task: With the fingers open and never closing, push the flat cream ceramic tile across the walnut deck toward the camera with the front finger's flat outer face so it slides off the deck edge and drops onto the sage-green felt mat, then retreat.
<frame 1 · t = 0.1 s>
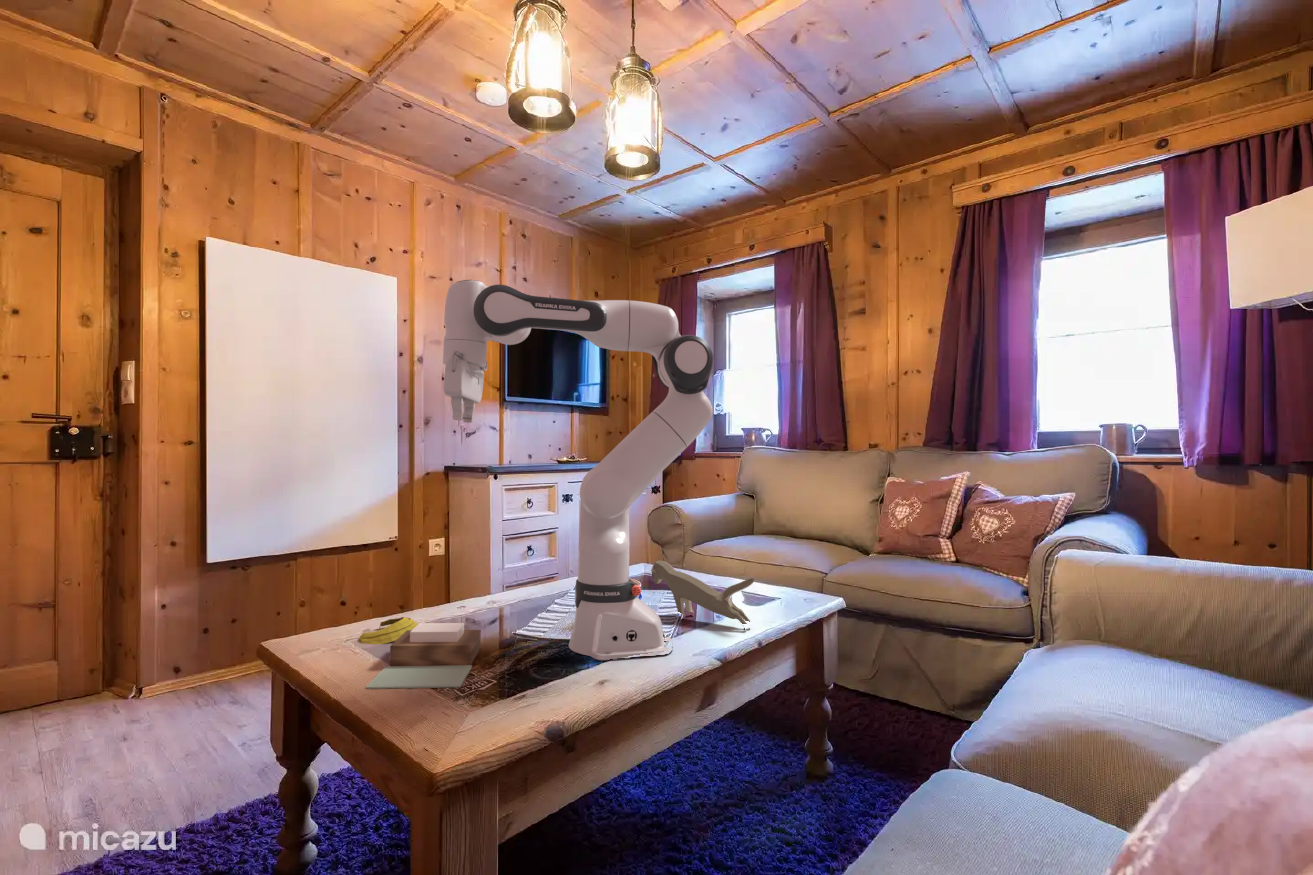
hand: (463, 421, 126), 48 cm above the table, fingers open, 8 cm apart
deck: (437, 657, 119), on the table
mat: (421, 677, 108), on the table
sculpture: (700, 621, 150), on the table
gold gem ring: (394, 638, 132), on the table
tile: (437, 637, 119), point 4 cm above the table, touching deck
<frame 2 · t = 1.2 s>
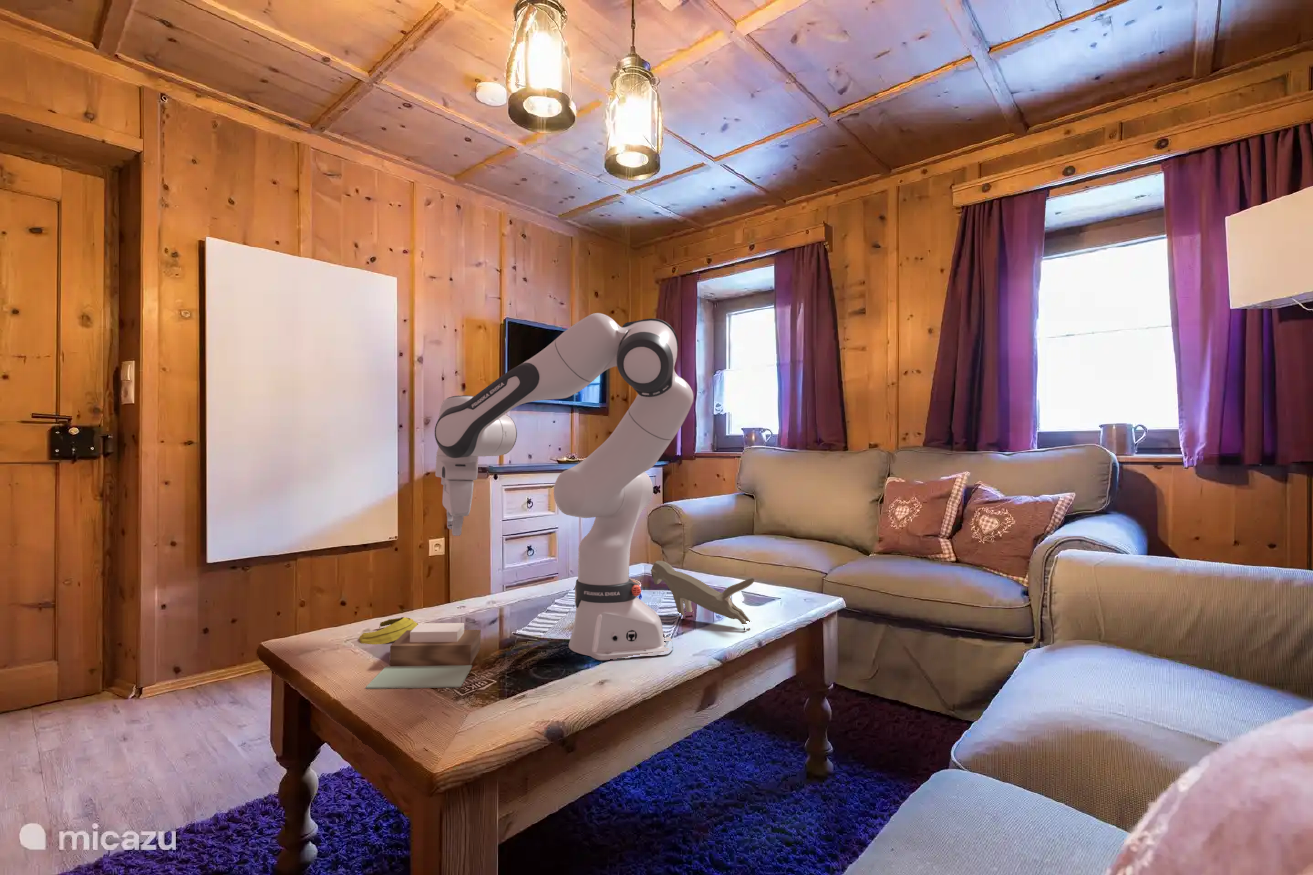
hand: (453, 532, 130), 24 cm above the table, fingers open, 8 cm apart
nothing on the table moved.
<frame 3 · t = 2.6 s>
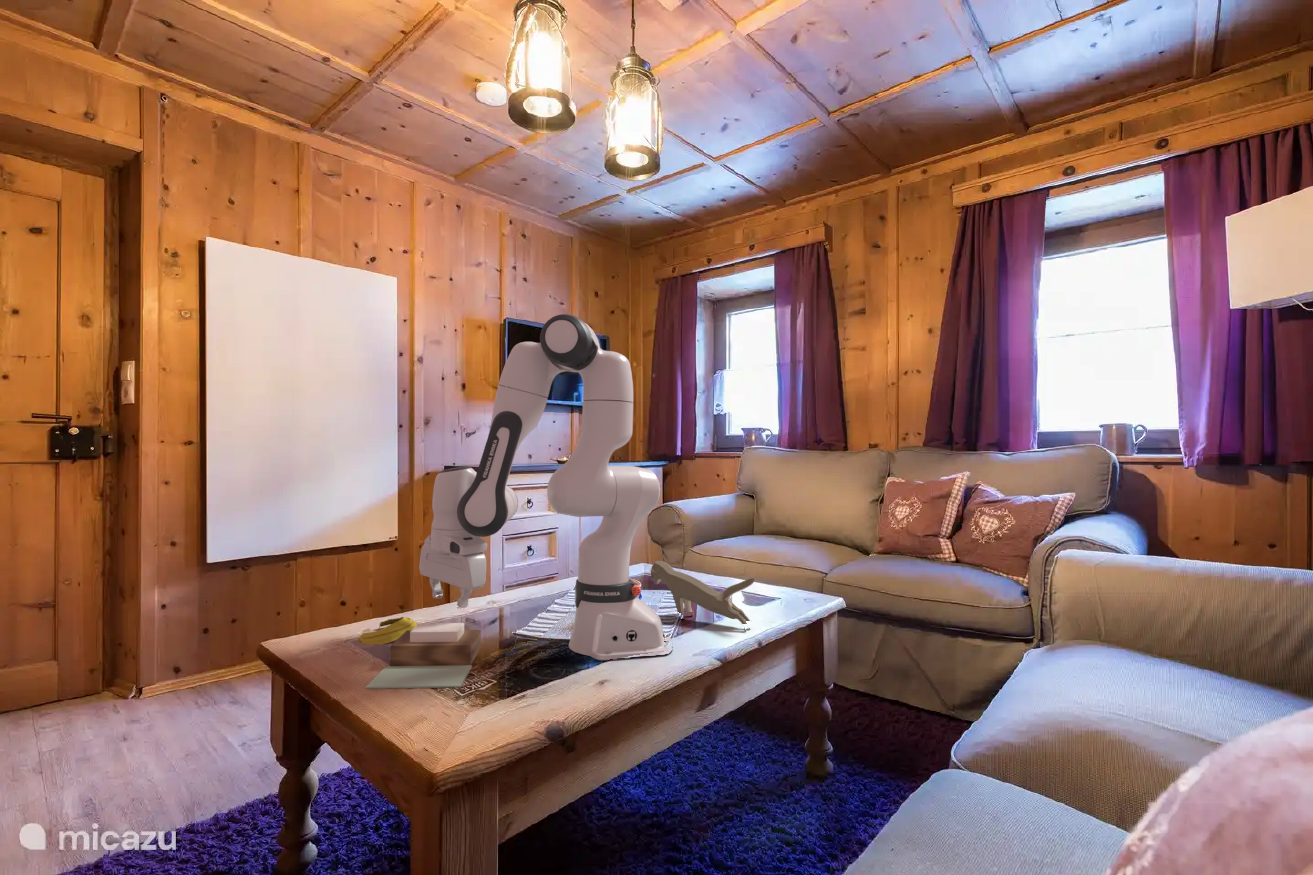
hand: (449, 602, 131), 8 cm above the table, fingers open, 8 cm apart
nothing on the table moved.
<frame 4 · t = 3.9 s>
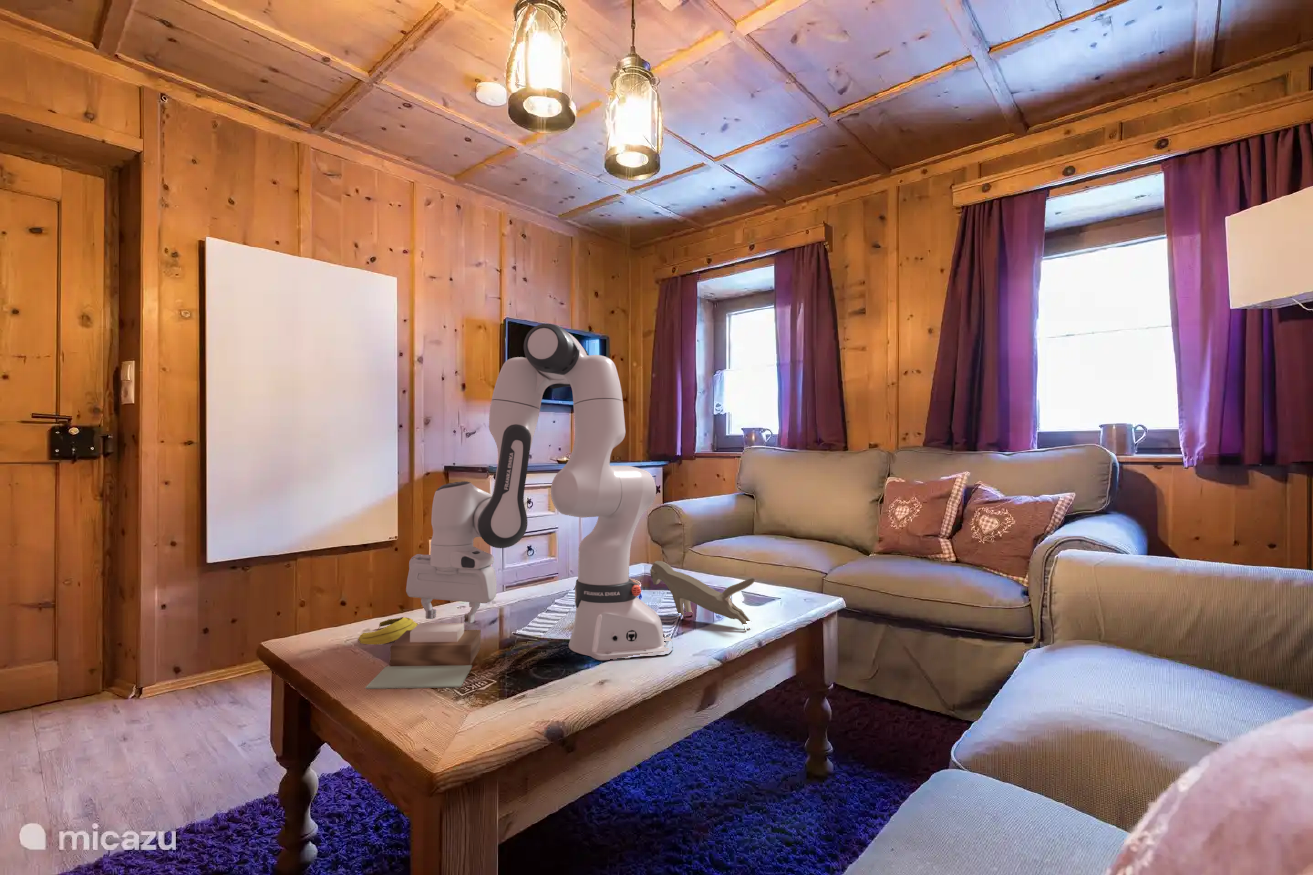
hand: (449, 620, 129), 5 cm above the table, fingers open, 8 cm apart
nothing on the table moved.
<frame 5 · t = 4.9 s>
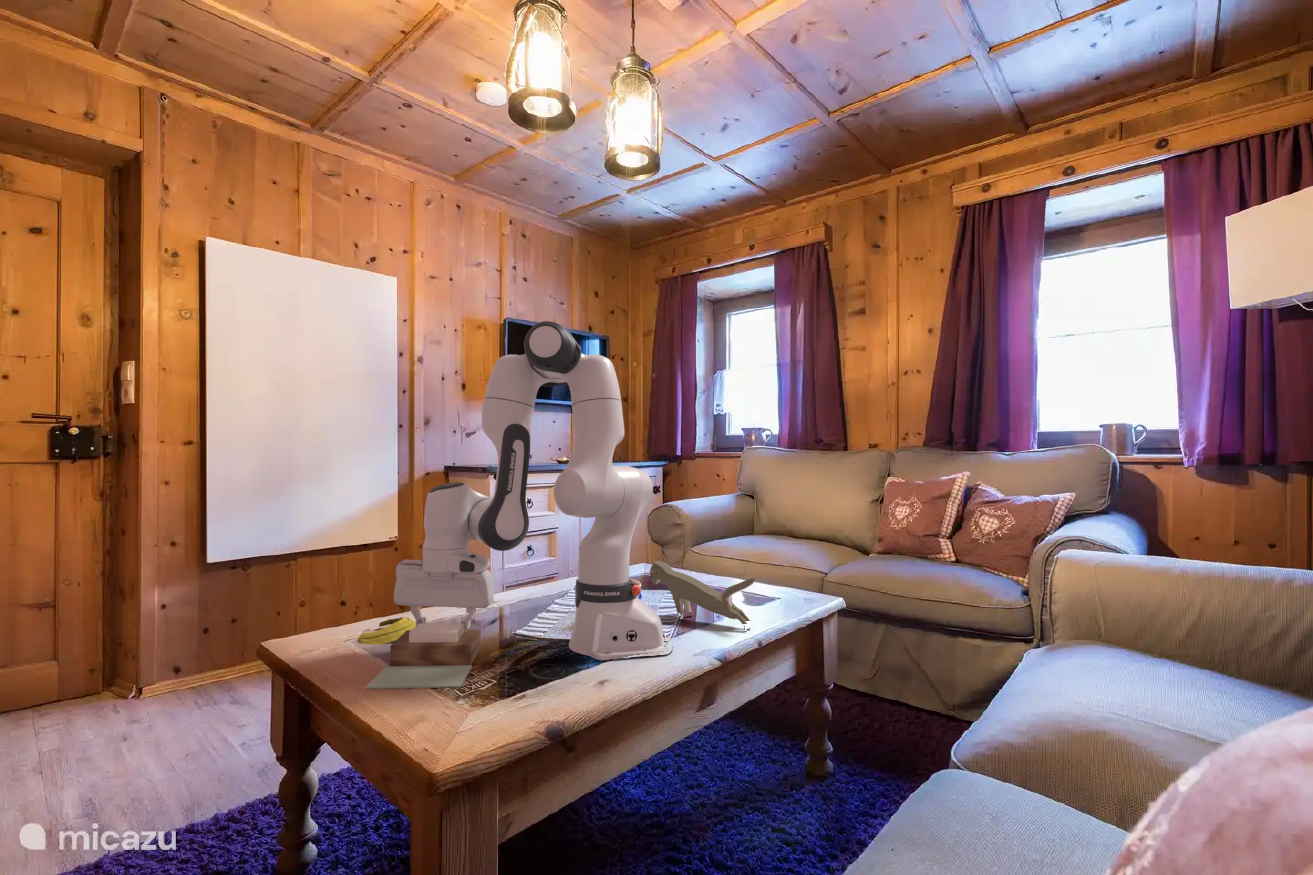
hand: (443, 627, 123), 5 cm above the table, fingers open, 8 cm apart
tile: (437, 637, 119), point 4 cm above the table, touching deck, gripper
everything else where it was.
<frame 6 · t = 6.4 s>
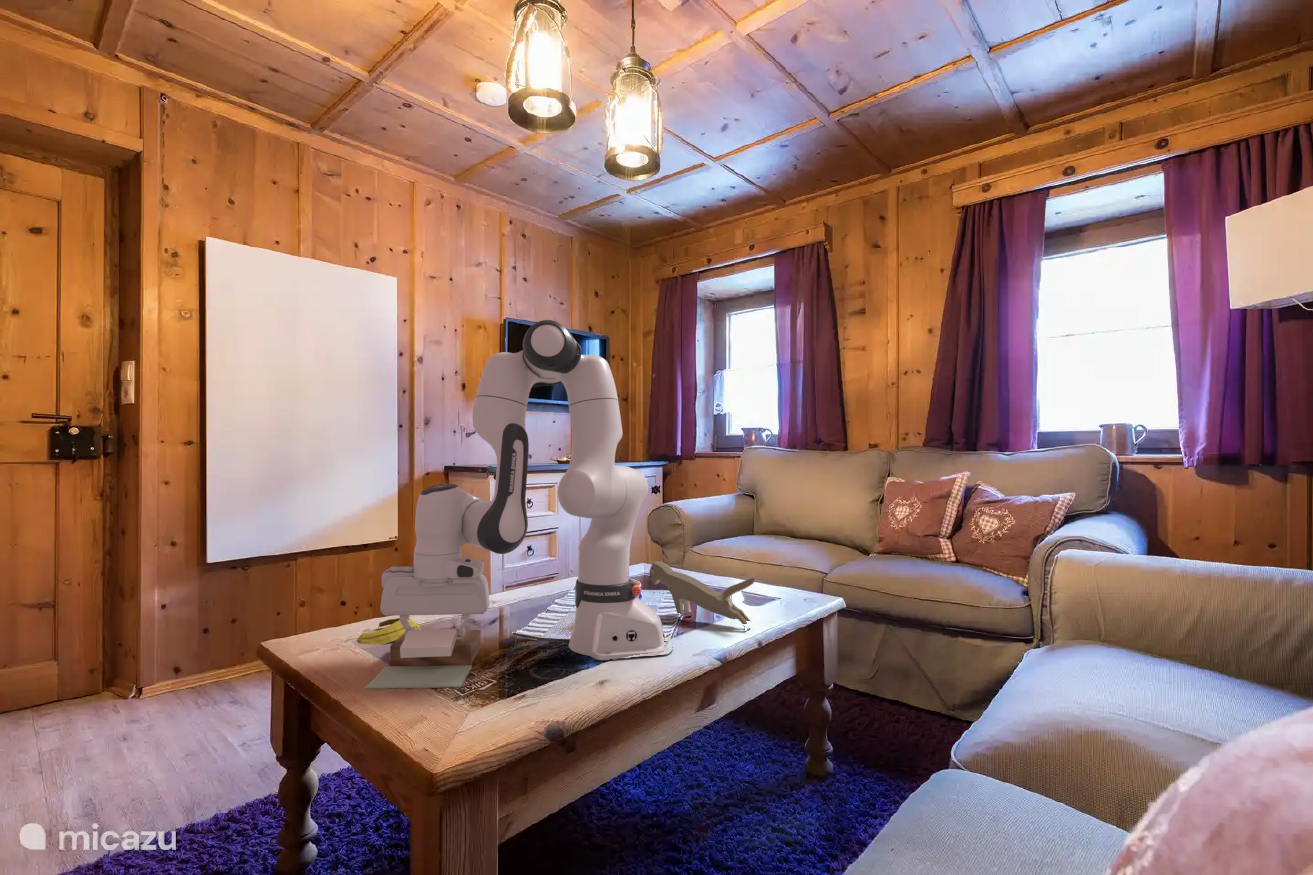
hand: (435, 636, 117), 5 cm above the table, fingers open, 8 cm apart
tile: (429, 647, 113), point 4 cm above the table, tilted 16°, touching deck
everything else where it was.
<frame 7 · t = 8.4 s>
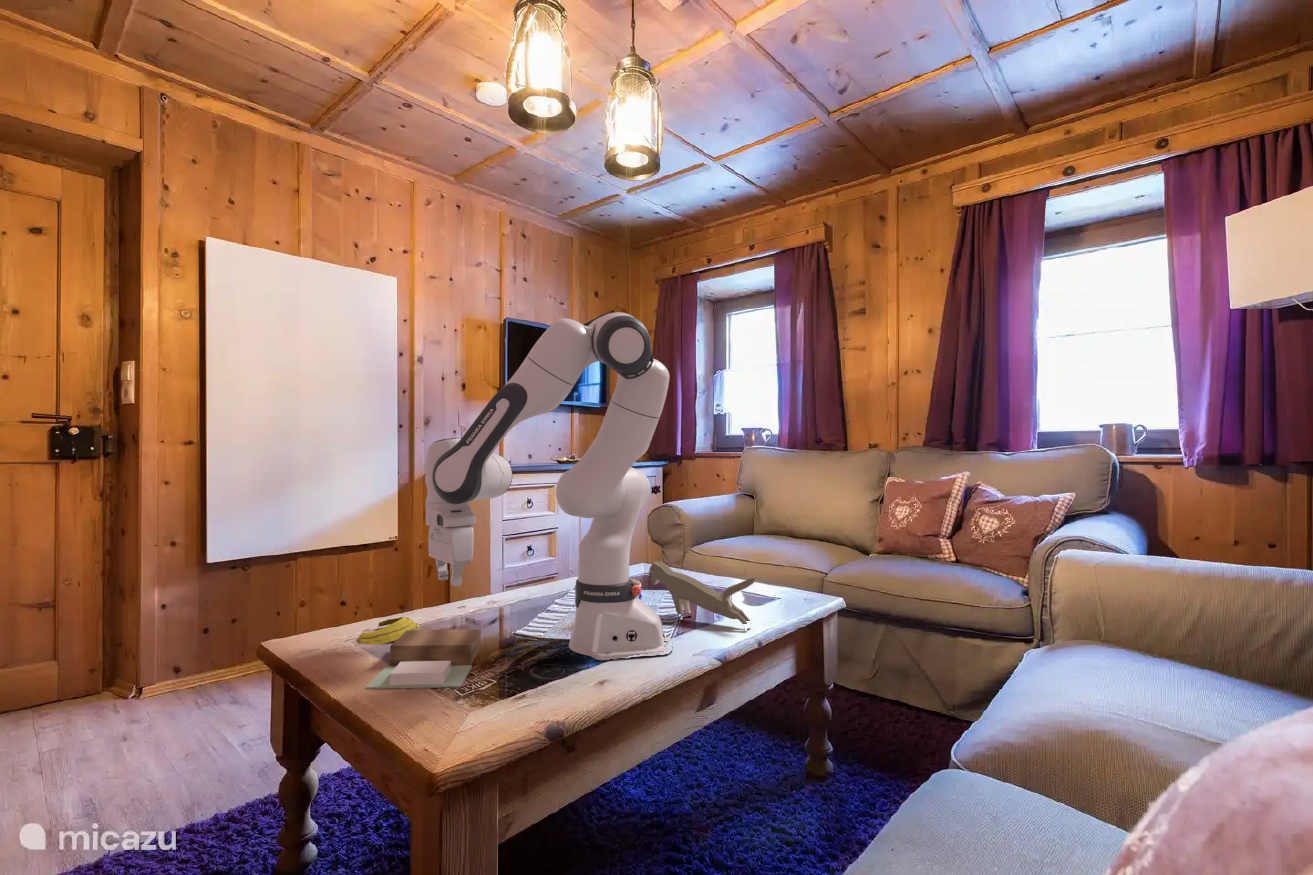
hand: (449, 582, 124), 14 cm above the table, fingers open, 8 cm apart
tile: (421, 666, 107), point 2 cm above the table, tilted 180°, touching mat
everything else where it was.
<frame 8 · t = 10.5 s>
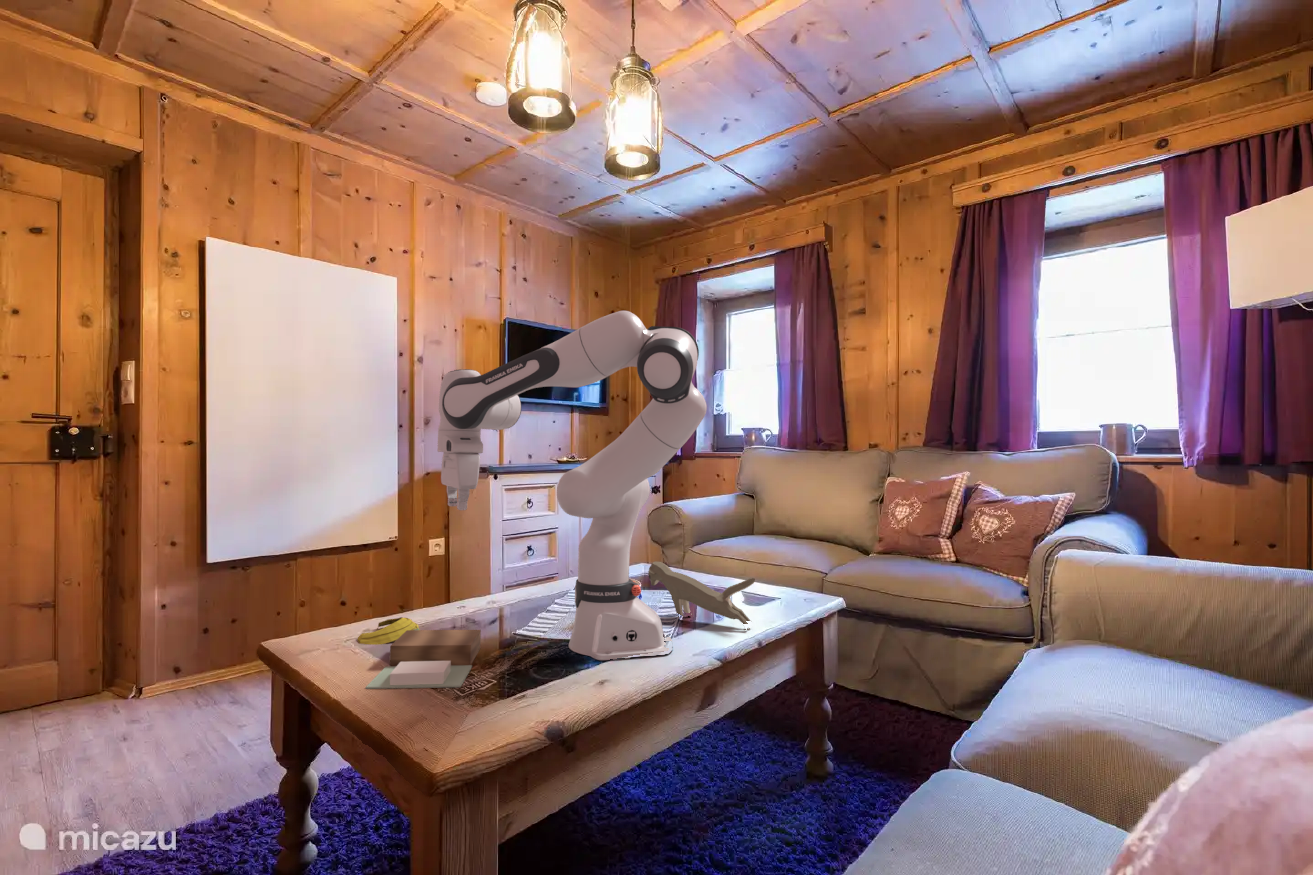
hand: (457, 508, 129), 29 cm above the table, fingers open, 8 cm apart
nothing on the table moved.
at the end: tile point 2.3 cm above the table; tile inside the target area on the mat (1.2 cm from its centre), point 2.3 cm above the mat's base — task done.
